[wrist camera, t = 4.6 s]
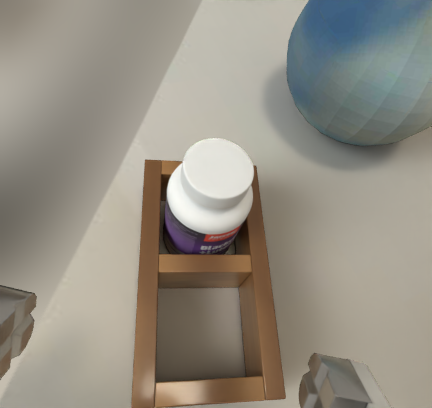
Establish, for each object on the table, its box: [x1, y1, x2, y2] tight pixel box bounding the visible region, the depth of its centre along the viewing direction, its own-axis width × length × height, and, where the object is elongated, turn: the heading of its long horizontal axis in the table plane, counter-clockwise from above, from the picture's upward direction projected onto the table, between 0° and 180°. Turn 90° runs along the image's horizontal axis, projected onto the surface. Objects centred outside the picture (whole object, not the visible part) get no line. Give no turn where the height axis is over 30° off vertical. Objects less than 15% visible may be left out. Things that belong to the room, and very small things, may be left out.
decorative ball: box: [287, 0, 432, 146], centre depth 29 cm, size 15×15×15 cm
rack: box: [131, 160, 286, 408], centre depth 23 cm, size 8×16×4 cm, turn 3°
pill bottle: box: [163, 138, 254, 255], centre depth 23 cm, size 5×5×10 cm
